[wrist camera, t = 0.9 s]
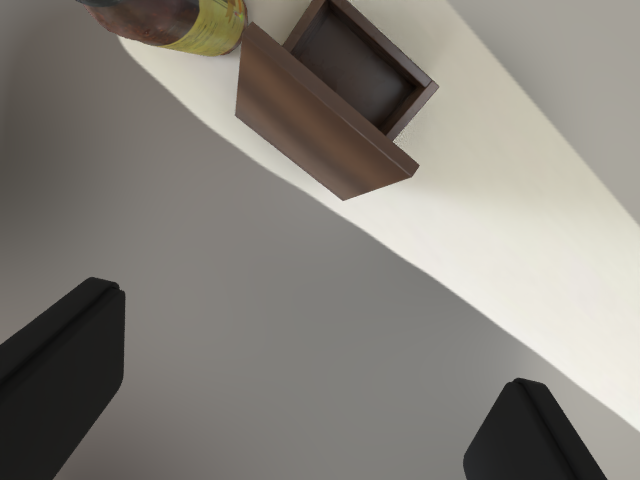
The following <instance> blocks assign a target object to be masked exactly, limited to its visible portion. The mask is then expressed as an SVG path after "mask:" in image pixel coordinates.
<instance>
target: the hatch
mask: <svg viewBox="0 0 640 480" xmlns="http://www.w3.org/2000/svg"><path fill="white" fill-rule="evenodd" d="M235 116H236V117H237V118H239V119H240V120H241V121H242V122H244V123H245V124H246V125H247V126H249V127H250V128H251V129H252V130H254V131H255V132H256V133H258V134H259V135H260V136H261V137H263V138H264V139H265V140H266V141H268V142H269V143H270V144H271V145H273V146H274V147H275V148H277V149H278V150H279V151H280V152H282V153H283V154H284V155H285V156H287V157H288V158H289V159H290V160H292V161H293V162H294V163H295V164H297V165H298V166H299V167H301V168H302V169H303V170H304V171H306V172H307V173H308V174H309V175H311V176H312V177H313V178H314V179H316V180H317V181H318V182H320V183H321V184H322V185H323V186H325V187H326V188H327V189H328V190H330V191H331V192H332V193H333V194H335V195H336V196H337V197H339V198H340V199H341V200H342V201H345V200H347V199H350V198H353V197H356V196H359V195H362V194H365V193H368V192H370V191H373V190H376V189H379V188H382V187H385V186H388V185H391V184H393V183H396V182H399V181H402V180H405V179H408V178H411V177H412V176H413V175H414V173H415V172H416V170H417V169H418V167H419V166H420V165H419V164H418V163H417V162H415V161H414V160H413V159H412V158H411V157H410V156H408V155H407V154H406V153H405V152H404V151H403V150H401V149H400V148H399V147H398V146H397V145H396V144H395V143H393V142H392V141H391V140H390V139H389V138H388V137H386V136H385V135H384V134H383V133H382V132H381V131H379V130H378V129H377V128H376V127H375V126H374V125H372V124H371V123H370V122H369V121H368V120H367V119H365V118H364V117H363V116H362V115H361V114H360V113H358V112H357V111H356V110H355V109H354V108H353V107H352V106H350V105H349V104H348V103H347V102H346V101H345V100H343V99H342V98H341V97H340V96H339V95H338V94H336V93H335V92H334V91H333V90H332V89H331V88H329V87H328V86H327V85H326V84H325V83H324V82H322V81H321V80H320V79H319V78H318V77H317V76H316V75H314V74H313V73H312V72H311V71H310V70H309V69H307V68H306V67H305V66H304V65H303V64H302V63H300V62H299V61H298V60H297V59H296V58H295V57H293V56H292V55H291V54H290V53H289V52H288V51H286V50H285V49H284V48H283V47H282V46H281V45H280V44H278V43H277V42H276V41H275V40H274V39H273V38H271V37H270V36H269V35H268V34H267V33H266V32H264V31H263V30H262V29H261V28H260V27H259V26H257V25H256V24H255V23H254V22H251V24H250V25H249V26H248V27H247V28H246V30H245V31H244V32H243V33H242V43H241V55H240V66H239V77H238V88H237V99H236V110H235Z"/></svg>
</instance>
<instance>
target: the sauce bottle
mask: <svg viewBox="0 0 640 480" xmlns="http://www.w3.org/2000/svg"><path fill="white" fill-rule="evenodd" d="M76 1H78V2H80V3H82V4H83V5H84V7H85V8H86V9H87V10H88V12H89V13H90V14H91V15H92V16H93V17H94V18H95V19H96V20H97V21H98V22H99V24H100V25H102V26H103V27H105V28H106V29H107V30H108V31H110V32H113V33H116V34H118V35H119V36H122V37H125V38H128V39H131V40H137V41H140V42H142V43H144V44H148V45H152V46H157V47H162V48H167V49H172V50H177V51H182V52H187V53H192V54H198V55H203V56H218V55H225V54H228V53H230V52H231V51H232V50H234V49H235V48H236V47H237V46H238V45H239V44H240V43H241V41H242V33H243V32H244V31H245V30H246V28H247V23H248V20H247V8H246V5H245V3H244V1H243V0H76Z"/></svg>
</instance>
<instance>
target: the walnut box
mask: <svg viewBox="0 0 640 480" xmlns="http://www.w3.org/2000/svg"><path fill="white" fill-rule="evenodd" d="M282 47H283V48H284V49H285V50H286V51H288V52H289V53H290V54H291V55H292V56H293V57H295V58H296V59H297V60H298V61H299V62H300V63H302V64H303V65H304V66H305V67H306V68H307V69H309V70H310V71H311V72H312V73H313V74H314V75H316V76H317V77H318V78H319V79H320V80H321V81H322V82H324V83H325V84H326V85H327V86H328V87H329V88H331V89H332V90H333V91H334V92H335V93H336V94H338V95H339V96H340V97H341V98H342V99H343V100H345V101H346V102H347V103H348V104H349V105H350V106H352V107H353V108H354V109H355V110H356V111H357V112H358V113H360V114H361V115H362V116H363V117H364V118H365V119H367V120H368V121H369V122H370V123H371V124H372V125H374V126H375V127H376V128H377V129H378V130H379V131H381V132H382V133H383V134H384V135H385V136H386V137H388V138H389V139H390V140H391V141H393V140H394V139H395V138H396V137H397V136H398V134H399V133H400V132H401V131H402V130H403V129H404V127H405V126H406V125H407V124H408V123H409V122H410V120H411V119H412V118H413V117H414V116H415V115H416V114H417V112H418V111H419V110H420V109H421V108H422V107H423V105H424V104H425V103H426V102H427V101H428V100H429V98H430V97H431V96H432V95H433V94H434V93H435V91H436V90H437V89H438V88H439V86H438V85H437V84H436V83H435V82H434V81H433V80H432V79H431V78H430V77H429V76H428V75H427V74H426V73H424V72H423V71H422V70H421V69H420V68H419V67H418V66H417V65H416V64H415V63H414V62H413V61H412V60H411V59H409V58H408V57H407V56H406V55H405V54H404V53H403V52H402V51H401V50H400V49H399V48H398V47H397V46H396V45H394V44H393V43H392V42H391V41H390V40H389V39H388V38H387V37H386V36H385V35H384V34H383V33H382V32H380V31H379V30H378V29H377V28H376V27H375V26H374V25H373V24H372V23H371V22H370V21H369V20H368V19H367V18H365V17H364V16H363V15H362V14H361V13H360V12H359V11H358V10H357V9H356V8H355V7H354V6H353V5H352V4H350V3H349V2H348V1H347V0H312V2H311V3H310V5H309V6H308V8H307V9H306V11H305V13H304V14H303V16H302V17H301V19H300V20H299V22H298V23H297V25H296V26H295V28H294V29H293V31H292V32H291V34H290V35H289V37H288V38H287V40H286V41H285V43H284V44H283V46H282Z"/></svg>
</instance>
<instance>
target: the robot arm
mask: <svg viewBox="0 0 640 480" xmlns="http://www.w3.org/2000/svg"><path fill="white" fill-rule="evenodd" d="M124 330H125V292H124V291H122V290H120V289H119V285H118V284H117V283H116V282H111V281H108V280H103V279H99V278H95V277H90V278H88V279H86V280H85V281H83V282H82V283H81V284H80V285H78V286H77V287H76V288H74V289H73V290H72V291H70V292H69V293H68V294H67V295H65V296H64V297H63V298H61V299H60V300H59V301H57V302H56V303H55V304H54V305H52V306H51V307H50V308H49V309H47V310H46V311H44V312H43V313H42V314H41V315H39V316H38V317H37V318H35V319H34V320H33V321H32V322H30V323H29V324H28V325H26V326H25V327H24V328H22V329H21V330H20V331H18V332H17V333H15V334H14V335H13V336H12V337H10V338H9V339H7V340H6V341H5V342H4V343H2V344H1V345H0V480H53V478H54V477H55V476H56V474H57V473H58V472H59V470H60V469H61V467H62V466H63V465H64V463H65V462H66V461H67V459H68V458H69V457H70V455H71V454H72V453H73V451H74V450H75V448H76V447H77V446H78V444H79V443H80V442H81V440H82V439H83V438H84V436H85V435H86V434H87V432H88V431H89V429H90V428H91V427H92V425H93V424H94V423H95V421H96V420H97V419H98V417H99V416H100V414H101V413H102V412H103V410H104V409H105V408H106V406H107V405H108V403H109V402H110V401H111V399H112V398H113V397H114V395H115V394H116V392H117V391H118V389H119V388H120V386H121V383H122V380H123V373H124V332H125V331H124ZM463 467H464V472H465V475H466V478H467V480H607V478H606V477H605V475H604V474H603V472H602V470H601V469H600V467H599V466H598V464H597V463H596V461H595V460H594V458H593V457H592V455H591V454H590V452H589V450H588V449H587V447H586V446H585V444H584V443H583V441H582V440H581V438H580V437H579V435H578V434H577V432H576V430H575V429H574V428H573V426H572V424H571V423H570V421H569V420H568V418H567V417H566V415H565V414H564V412H563V410H562V409H561V407H560V406H559V404H558V403H557V401H556V400H555V398H554V397H553V395H552V394H551V392H550V391H549V389H548V388H547V386H546V385H544V384H543V383H540V382H535V381H531V380H527V379H523V378H516V379H514V381H512V382H509V383H507V384H506V385H505V386H504V388H503V390H502V392H501V393H500V395H499V397H498V398H497V400H496V402H495V403H494V405H493V407H492V409H491V410H490V412H489V413H488V415H487V417H486V419H485V420H484V422H483V424H482V426H481V427H480V429H479V430H478V432H477V434H476V436H475V437H474V439H473V441H472V442H471V444H470V446H469V448H468V449H467V451H466V453H465V455H464V460H463Z"/></svg>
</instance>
